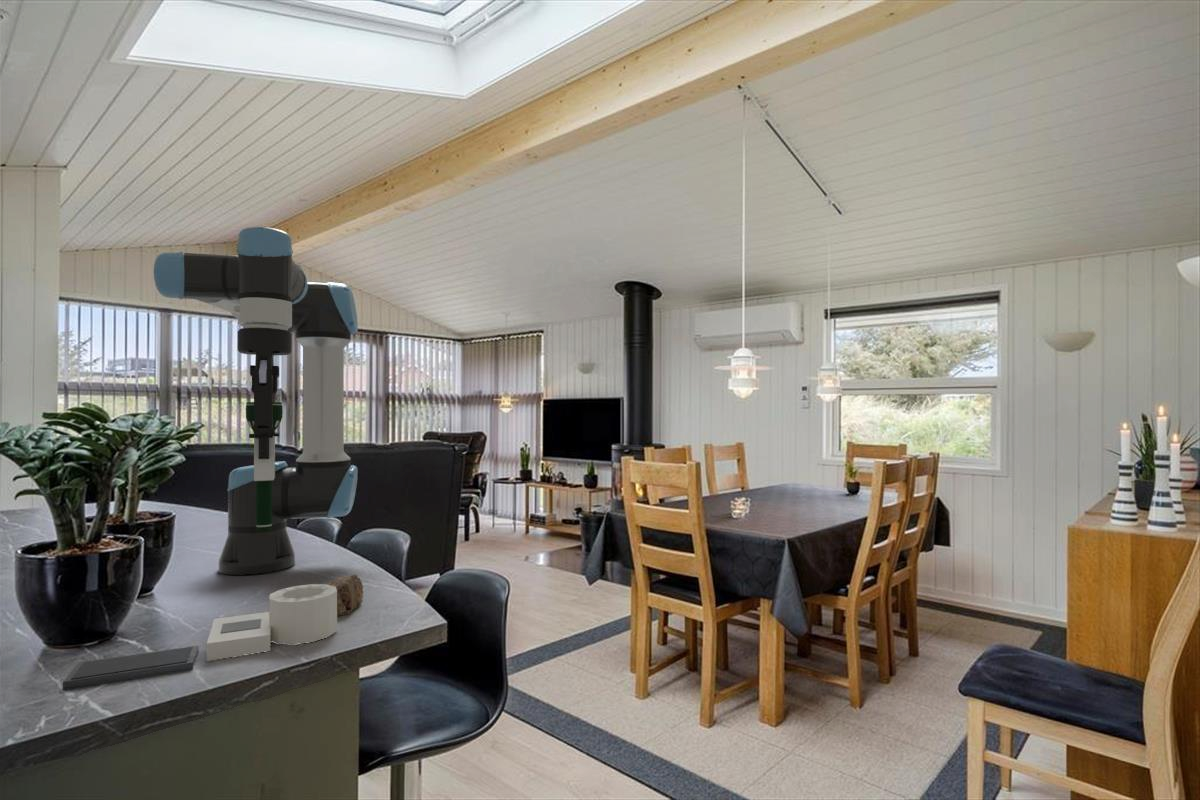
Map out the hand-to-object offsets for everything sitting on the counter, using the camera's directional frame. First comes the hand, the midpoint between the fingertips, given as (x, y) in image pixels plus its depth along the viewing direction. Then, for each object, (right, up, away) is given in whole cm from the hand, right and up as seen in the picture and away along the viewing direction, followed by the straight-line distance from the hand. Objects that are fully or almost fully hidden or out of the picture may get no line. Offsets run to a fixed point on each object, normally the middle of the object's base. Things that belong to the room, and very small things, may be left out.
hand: (264, 479), depth 100 cm
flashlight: (0, -8, 0) cm, 8 cm away
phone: (-11, -24, -13) cm, 30 cm away
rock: (+4, -25, +17) cm, 30 cm away
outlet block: (+2, -25, 0) cm, 25 cm away
